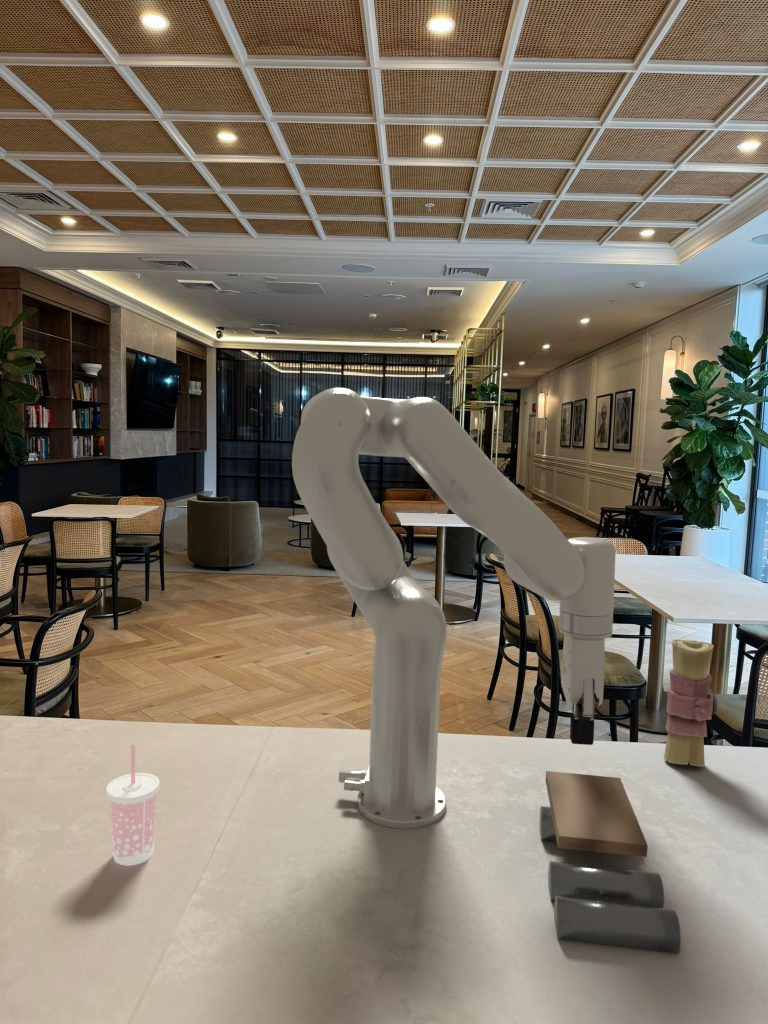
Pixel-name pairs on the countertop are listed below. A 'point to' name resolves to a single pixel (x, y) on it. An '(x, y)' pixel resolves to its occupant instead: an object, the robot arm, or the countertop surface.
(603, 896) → the roller front
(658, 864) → the countertop surface
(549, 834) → the cylinder
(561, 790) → the slab
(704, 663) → the scroll
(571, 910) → the roller
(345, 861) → the countertop surface
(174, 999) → the countertop surface
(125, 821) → the beverage cup
